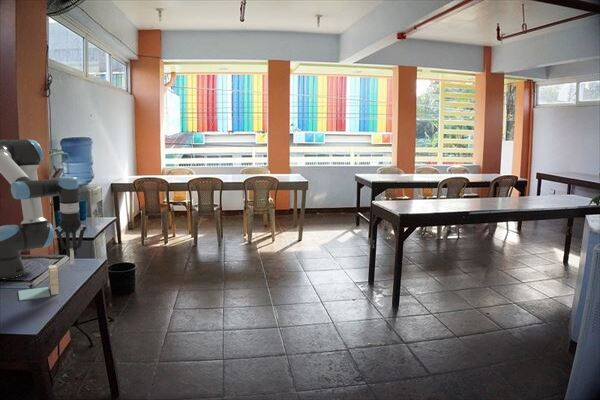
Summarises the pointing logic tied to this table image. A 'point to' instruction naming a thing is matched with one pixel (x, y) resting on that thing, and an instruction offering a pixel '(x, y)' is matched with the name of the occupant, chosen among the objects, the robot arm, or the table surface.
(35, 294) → the mat
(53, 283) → the slab
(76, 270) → the table surface
